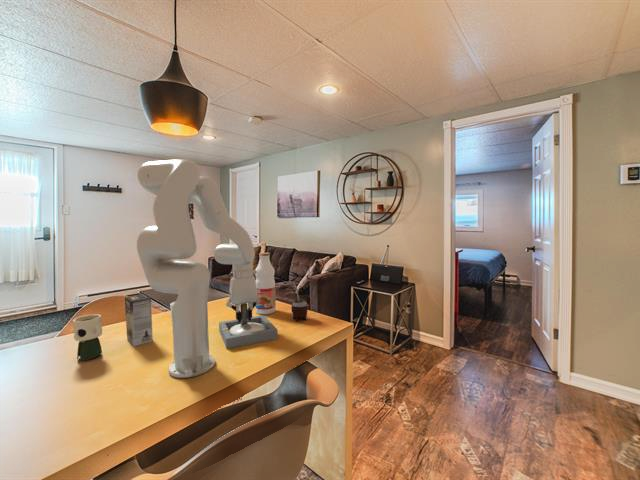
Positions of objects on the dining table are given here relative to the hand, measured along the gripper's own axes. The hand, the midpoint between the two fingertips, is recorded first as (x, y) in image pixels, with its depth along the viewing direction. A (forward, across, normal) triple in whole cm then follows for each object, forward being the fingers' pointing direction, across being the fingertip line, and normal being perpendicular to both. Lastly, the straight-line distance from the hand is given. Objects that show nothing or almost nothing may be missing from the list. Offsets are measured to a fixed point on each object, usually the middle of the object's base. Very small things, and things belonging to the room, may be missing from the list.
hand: (244, 319), depth 115 cm
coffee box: (+4, +36, -8) cm, 37 cm away
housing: (+4, 0, +5) cm, 7 cm away
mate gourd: (+4, -24, -2) cm, 24 cm away
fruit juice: (+4, -14, -19) cm, 24 cm away
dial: (+3, 0, +5) cm, 6 cm away
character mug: (+4, +49, 0) cm, 49 cm away
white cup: (+4, +22, -16) cm, 28 cm away
